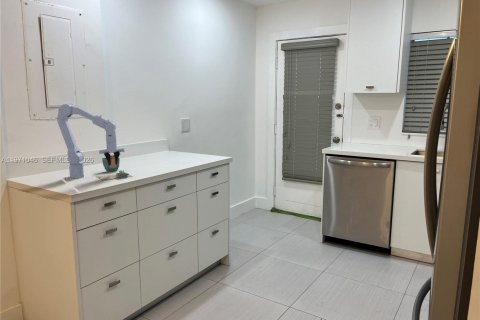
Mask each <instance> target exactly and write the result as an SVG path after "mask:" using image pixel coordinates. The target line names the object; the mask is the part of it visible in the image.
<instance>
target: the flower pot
mask: <svg viewBox="0 0 480 320" xmlns="http://www.w3.org/2000/svg"><path fill="white" fill-rule="evenodd" d="M101 161H102V165H103V168H104V170H105V171H106V172H108V173H113V172H118V171H119V168H120V163H121V161H120V157H119V158H118V161H117V164H116V167H115V168H110V165H108V161H107V159H106V157H102V158H101Z"/></svg>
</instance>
